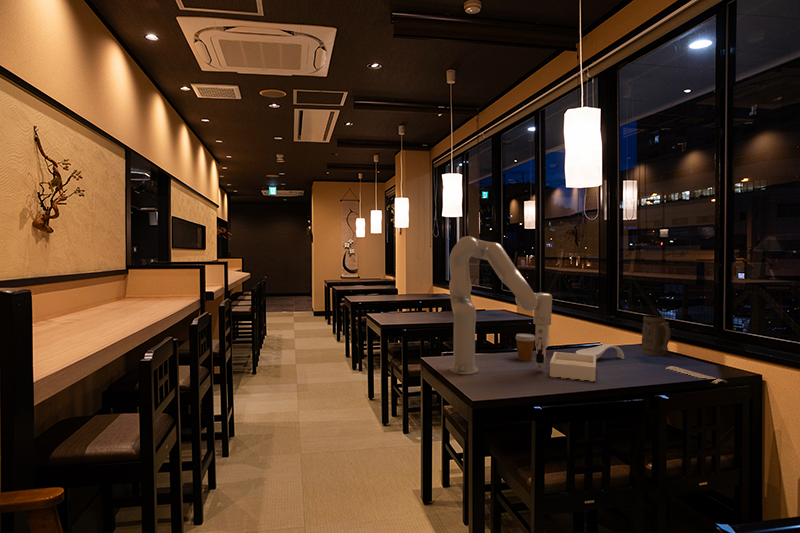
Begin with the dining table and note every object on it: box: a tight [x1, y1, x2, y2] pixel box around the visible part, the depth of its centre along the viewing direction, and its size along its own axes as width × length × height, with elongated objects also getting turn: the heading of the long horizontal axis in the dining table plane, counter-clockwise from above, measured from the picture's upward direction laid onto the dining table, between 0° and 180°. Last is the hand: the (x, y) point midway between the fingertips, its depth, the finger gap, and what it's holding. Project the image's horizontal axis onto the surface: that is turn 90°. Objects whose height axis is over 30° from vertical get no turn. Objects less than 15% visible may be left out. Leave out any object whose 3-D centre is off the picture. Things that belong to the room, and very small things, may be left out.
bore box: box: [549, 351, 597, 382], centre depth 203 cm, size 22×18×6 cm
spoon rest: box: [575, 343, 625, 360], centre depth 228 cm, size 24×12×7 cm, turn 98°
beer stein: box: [641, 314, 672, 357], centre depth 237 cm, size 15×11×20 cm
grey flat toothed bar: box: [665, 365, 728, 385], centre depth 200 cm, size 24×7×2 cm, turn 20°
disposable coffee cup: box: [515, 333, 535, 362], centre depth 226 cm, size 10×10×12 cm
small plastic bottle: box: [535, 346, 547, 369], centre depth 205 cm, size 4×4×10 cm
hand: (540, 361), depth 205 cm, fingers closed on small plastic bottle, 4 cm apart
